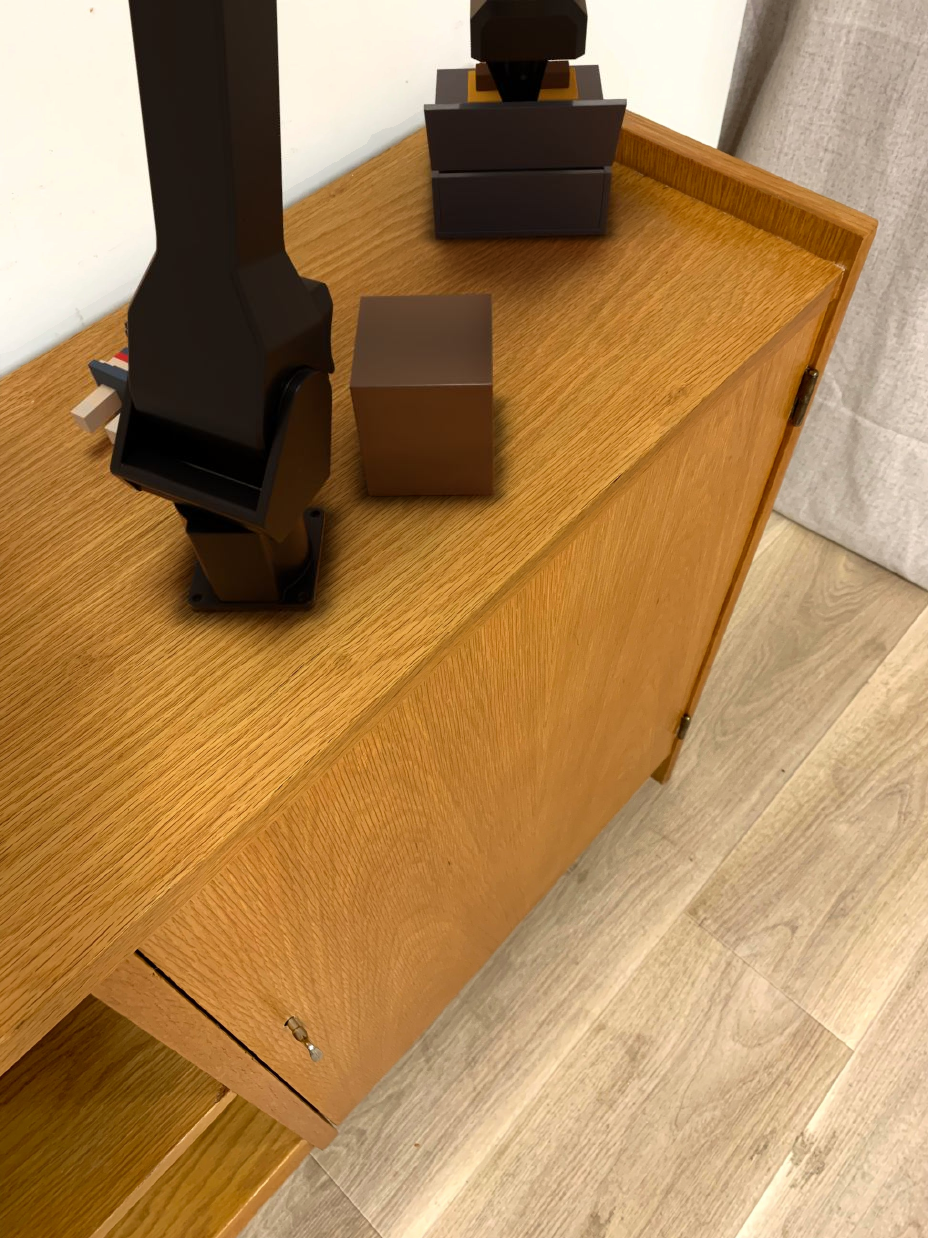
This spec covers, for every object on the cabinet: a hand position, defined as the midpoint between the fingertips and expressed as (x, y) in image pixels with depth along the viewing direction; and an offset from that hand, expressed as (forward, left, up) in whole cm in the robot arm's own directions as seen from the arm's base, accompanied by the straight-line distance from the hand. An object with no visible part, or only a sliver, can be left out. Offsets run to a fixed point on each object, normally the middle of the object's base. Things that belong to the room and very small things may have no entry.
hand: (521, 111), depth 59 cm
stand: (-24, +6, -7) cm, 26 cm away
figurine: (-18, +21, -7) cm, 28 cm away
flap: (-5, 0, +1) cm, 5 cm away
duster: (0, 0, 0) cm, 0 cm away
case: (+3, 0, -7) cm, 8 cm away
